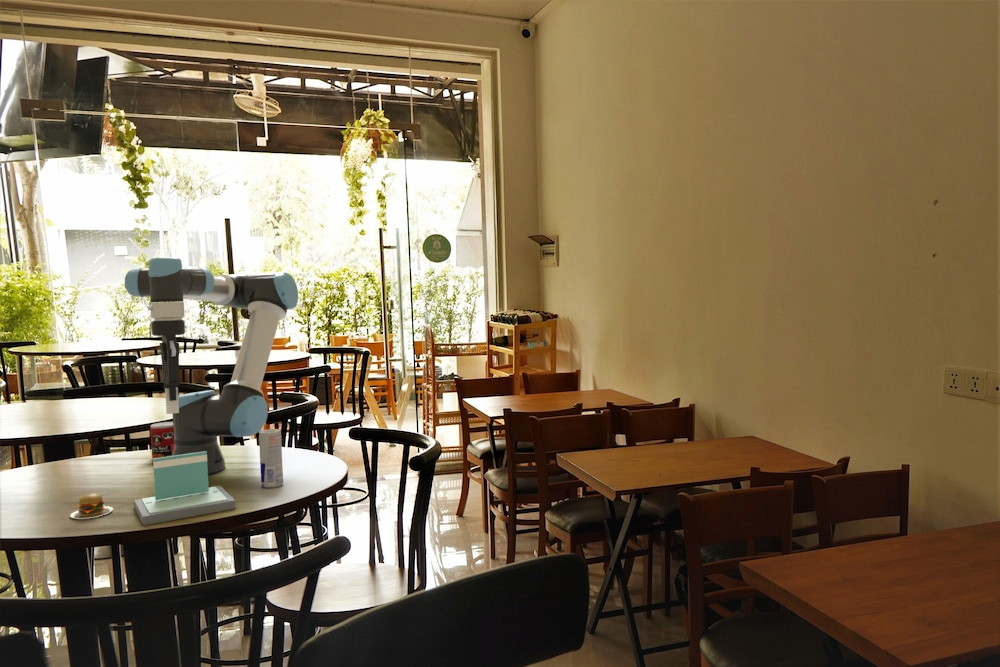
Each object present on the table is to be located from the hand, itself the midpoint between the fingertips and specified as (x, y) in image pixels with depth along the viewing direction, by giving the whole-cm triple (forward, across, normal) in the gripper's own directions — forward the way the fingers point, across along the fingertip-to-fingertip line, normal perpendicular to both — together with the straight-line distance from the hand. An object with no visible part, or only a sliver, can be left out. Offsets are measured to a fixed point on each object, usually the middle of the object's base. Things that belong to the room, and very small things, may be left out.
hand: (172, 413), depth 178 cm
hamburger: (+23, +1, -19) cm, 30 cm away
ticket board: (+22, +10, 0) cm, 24 cm away
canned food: (+22, -52, +5) cm, 57 cm away
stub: (+19, +8, 0) cm, 21 cm away
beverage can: (+22, +3, +23) cm, 32 cm away
